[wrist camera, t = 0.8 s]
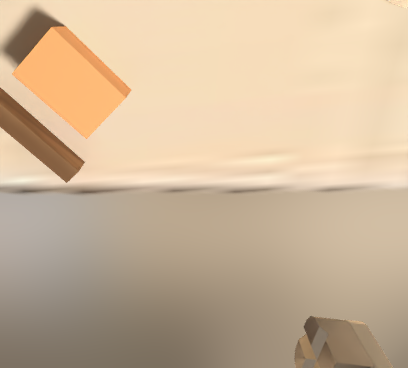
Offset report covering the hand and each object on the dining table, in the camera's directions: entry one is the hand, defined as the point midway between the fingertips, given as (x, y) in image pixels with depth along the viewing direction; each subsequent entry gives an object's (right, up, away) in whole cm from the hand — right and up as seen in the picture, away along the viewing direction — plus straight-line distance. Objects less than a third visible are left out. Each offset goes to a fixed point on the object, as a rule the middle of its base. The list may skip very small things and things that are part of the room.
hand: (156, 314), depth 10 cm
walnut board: (-18, +10, +33) cm, 39 cm away
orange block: (-12, +15, +31) cm, 37 cm away
